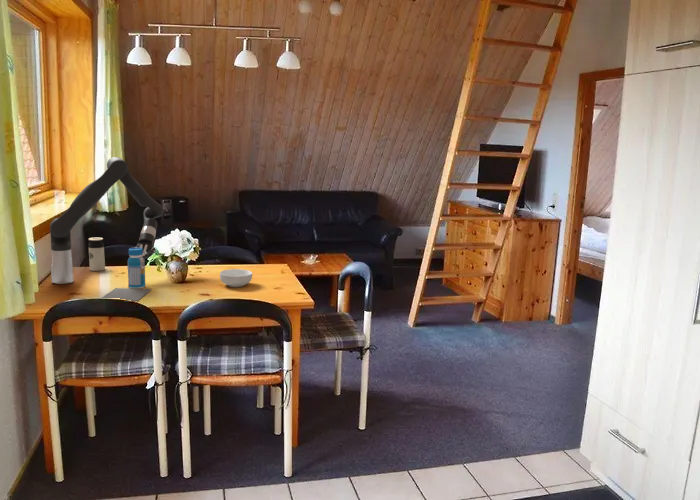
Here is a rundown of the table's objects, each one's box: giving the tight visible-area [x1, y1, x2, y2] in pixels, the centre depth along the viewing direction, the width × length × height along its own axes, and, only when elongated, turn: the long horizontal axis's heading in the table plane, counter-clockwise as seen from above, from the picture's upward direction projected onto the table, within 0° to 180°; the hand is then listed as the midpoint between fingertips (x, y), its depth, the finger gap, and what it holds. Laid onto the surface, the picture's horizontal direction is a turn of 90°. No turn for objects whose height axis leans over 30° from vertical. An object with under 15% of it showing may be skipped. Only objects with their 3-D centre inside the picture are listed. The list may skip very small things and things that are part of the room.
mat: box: [101, 287, 152, 302], centre depth 283 cm, size 18×21×1 cm
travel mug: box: [87, 237, 106, 272], centre depth 330 cm, size 8×8×18 cm
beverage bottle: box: [126, 247, 146, 289], centre depth 296 cm, size 8×8×20 cm
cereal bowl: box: [219, 268, 253, 288], centre depth 307 cm, size 17×17×7 cm
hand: (140, 263), depth 303 cm, fingers closed
